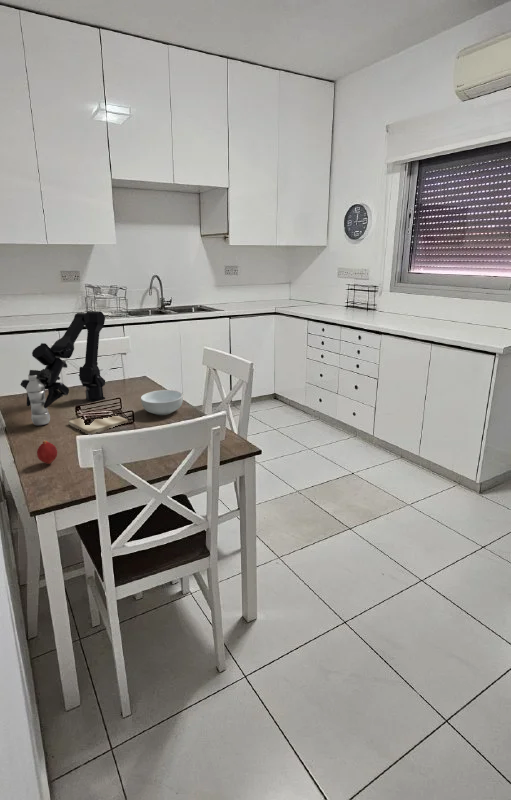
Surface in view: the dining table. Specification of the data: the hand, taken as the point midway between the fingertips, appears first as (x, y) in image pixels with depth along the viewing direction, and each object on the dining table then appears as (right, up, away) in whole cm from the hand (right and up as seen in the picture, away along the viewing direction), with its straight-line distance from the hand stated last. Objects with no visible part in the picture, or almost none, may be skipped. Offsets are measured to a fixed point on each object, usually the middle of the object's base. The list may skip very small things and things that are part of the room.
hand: (36, 406), depth 177 cm
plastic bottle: (+1, -7, +4) cm, 8 cm away
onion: (+18, -18, -30) cm, 40 cm away
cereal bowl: (+45, -3, +15) cm, 48 cm away
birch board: (+23, -7, +3) cm, 24 cm away
